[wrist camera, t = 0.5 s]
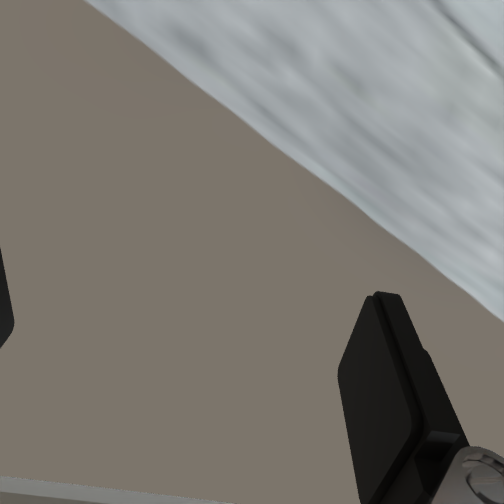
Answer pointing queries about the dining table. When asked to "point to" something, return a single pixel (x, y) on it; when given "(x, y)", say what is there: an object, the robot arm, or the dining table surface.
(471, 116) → the dining table surface
